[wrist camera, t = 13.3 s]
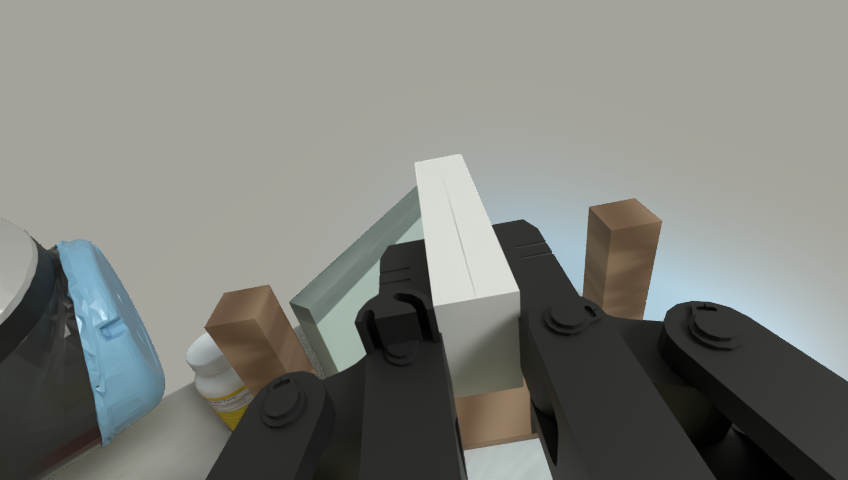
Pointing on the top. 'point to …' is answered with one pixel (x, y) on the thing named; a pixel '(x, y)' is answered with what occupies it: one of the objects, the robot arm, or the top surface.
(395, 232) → the gate
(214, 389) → the supplement bottle
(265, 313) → the gate frame
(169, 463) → the top surface
